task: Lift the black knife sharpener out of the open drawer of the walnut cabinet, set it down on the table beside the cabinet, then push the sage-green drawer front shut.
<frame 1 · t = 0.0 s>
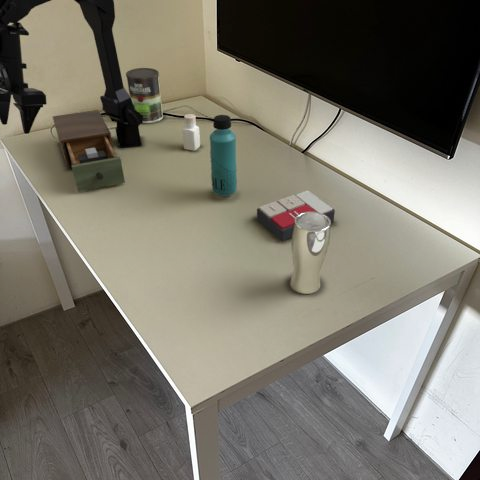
hand: (15, 128, 115), 15 cm above the table, tool pointing down, fingers open, 9 cm apart
grey and red box: (294, 222, 113), on the table
beverage bottle: (224, 196, 122), on the table
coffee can: (148, 118, 160), on the table
salt shaker: (192, 148, 143), on the table
knife sharpener: (95, 169, 129), point 2 cm above the table, touching drawer
beer glass: (305, 285, 96), on the table
drawer: (93, 162, 127), point 4 cm above the table, slide at 14.0 cm, touching knife sharpener
cabinet: (87, 152, 141), on the table
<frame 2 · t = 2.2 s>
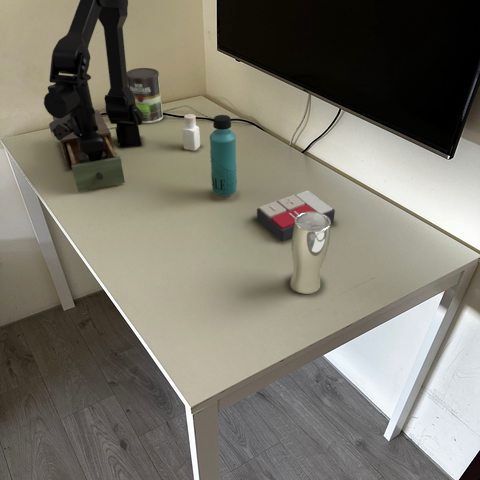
hand: (93, 164, 128), 4 cm above the table, tool pointing down, fingers open, 8 cm apart
nothing on the table moved.
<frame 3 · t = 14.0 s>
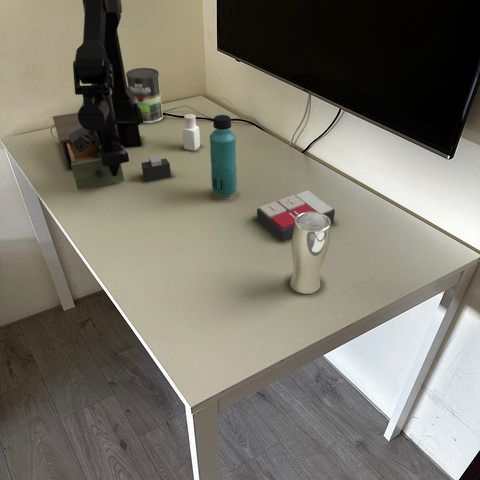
hand: (114, 175, 122), 4 cm above the table, tool pointing down, fingers closed
knife sharpener: (157, 176, 130), on the table
drawer: (93, 160, 128), point 4 cm above the table, slide at 12.9 cm, touching gripper
everything else where it was.
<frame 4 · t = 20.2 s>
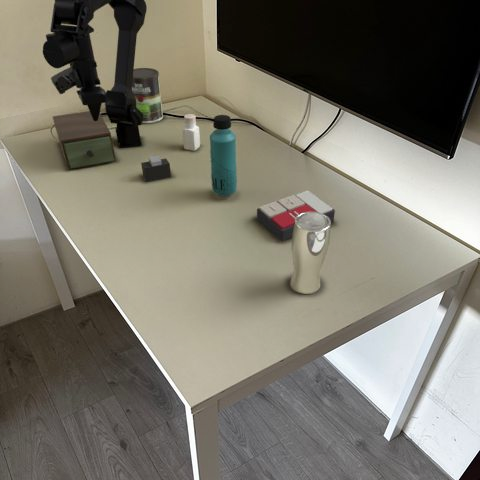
hand: (95, 120, 127), 12 cm above the table, tool pointing down, fingers closed
drawer: (85, 141, 136), point 4 cm above the table, slide at 0.0 cm
everything else where it was.
at the end: knife sharpener inside the target area (0.1 cm from its centre), on the table; knife sharpener tilted 0°; drawer slide at 0.0 cm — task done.
